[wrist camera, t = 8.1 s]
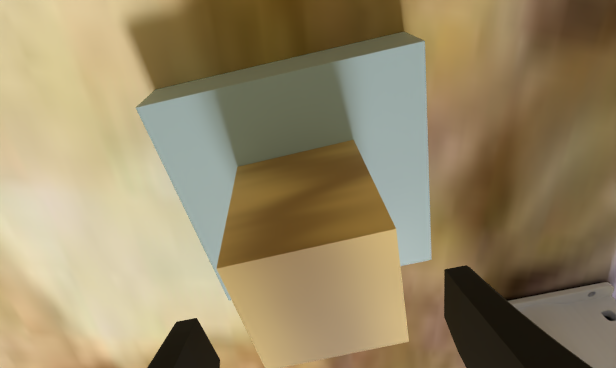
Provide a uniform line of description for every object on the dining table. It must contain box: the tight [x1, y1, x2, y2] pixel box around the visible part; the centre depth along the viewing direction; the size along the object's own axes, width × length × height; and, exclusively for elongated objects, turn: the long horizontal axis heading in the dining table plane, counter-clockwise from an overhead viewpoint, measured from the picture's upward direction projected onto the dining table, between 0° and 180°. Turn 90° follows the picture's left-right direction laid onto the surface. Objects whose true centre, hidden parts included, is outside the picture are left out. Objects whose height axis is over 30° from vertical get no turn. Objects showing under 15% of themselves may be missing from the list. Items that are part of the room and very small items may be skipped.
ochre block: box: [216, 140, 409, 368], centre depth 13 cm, size 5×5×6 cm
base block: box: [136, 32, 431, 300], centre depth 17 cm, size 11×11×3 cm
